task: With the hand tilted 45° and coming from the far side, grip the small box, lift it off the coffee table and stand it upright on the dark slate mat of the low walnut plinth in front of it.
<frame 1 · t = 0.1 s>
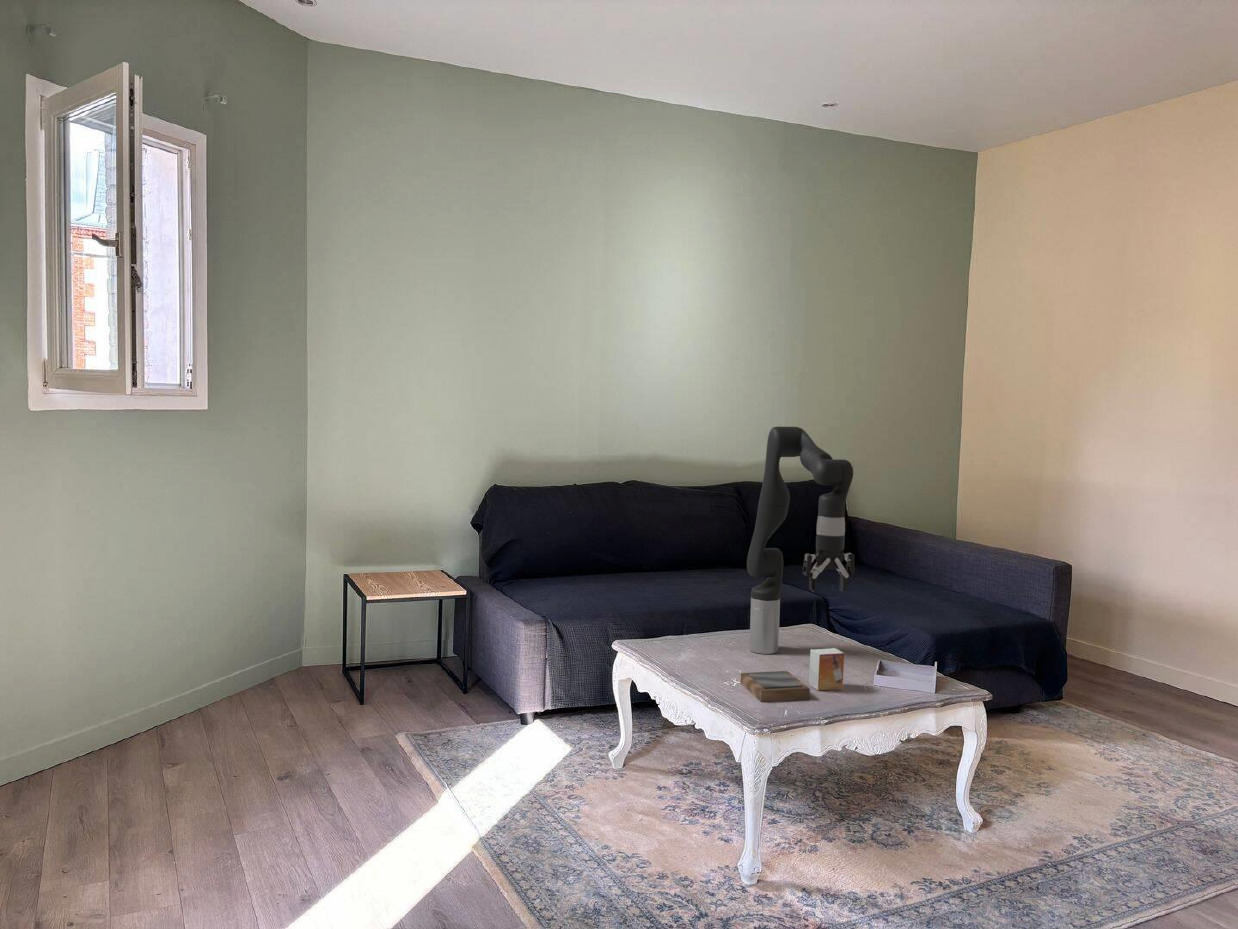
hand: (827, 591, 257), 29 cm above the table, tool pointing down, fingers open, 8 cm apart
small box: (825, 687, 267), on the table
plinth: (774, 691, 263), on the table
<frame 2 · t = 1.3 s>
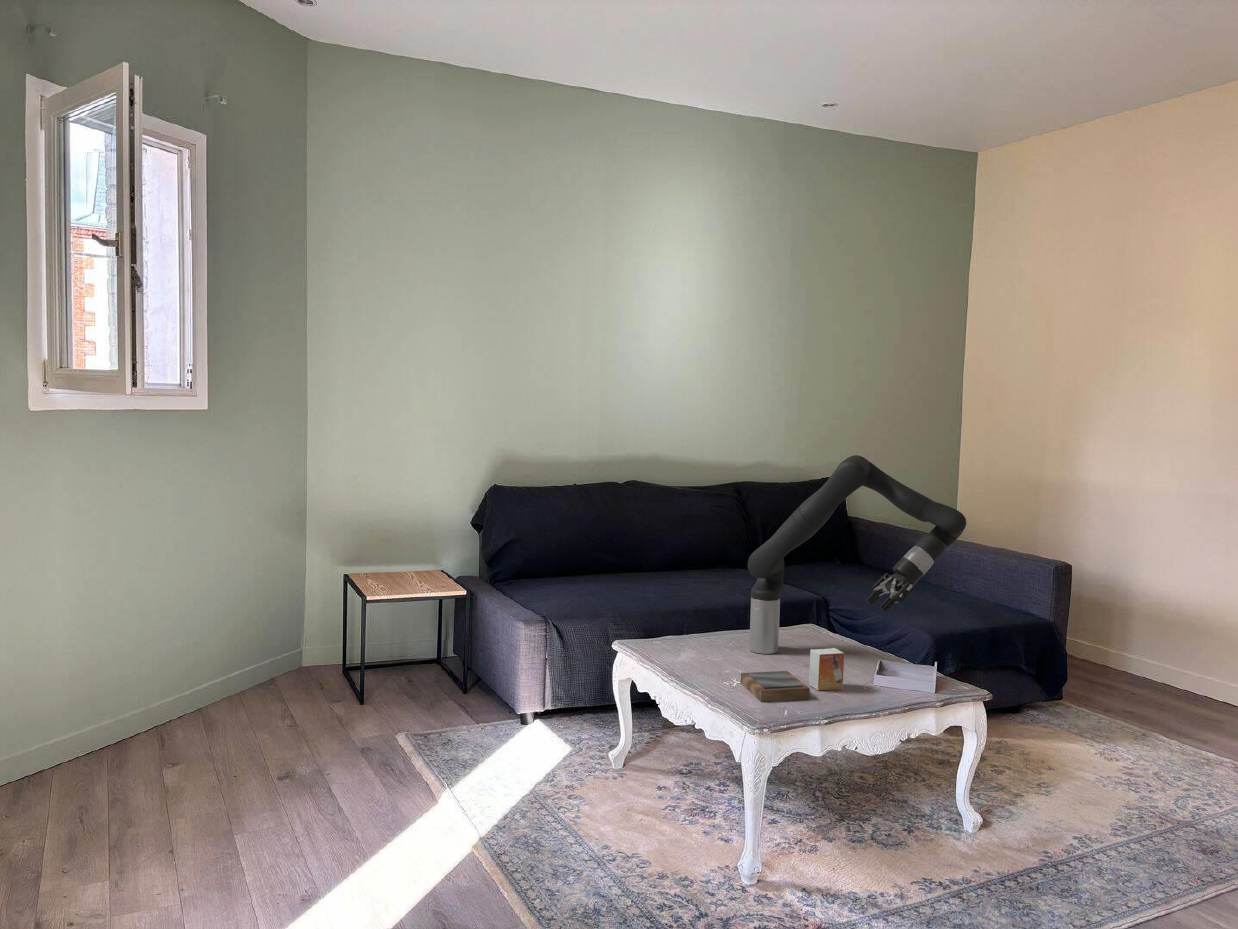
hand: (875, 606, 268), 23 cm above the table, tool tilted 45°, fingers open, 8 cm apart
nothing on the table moved.
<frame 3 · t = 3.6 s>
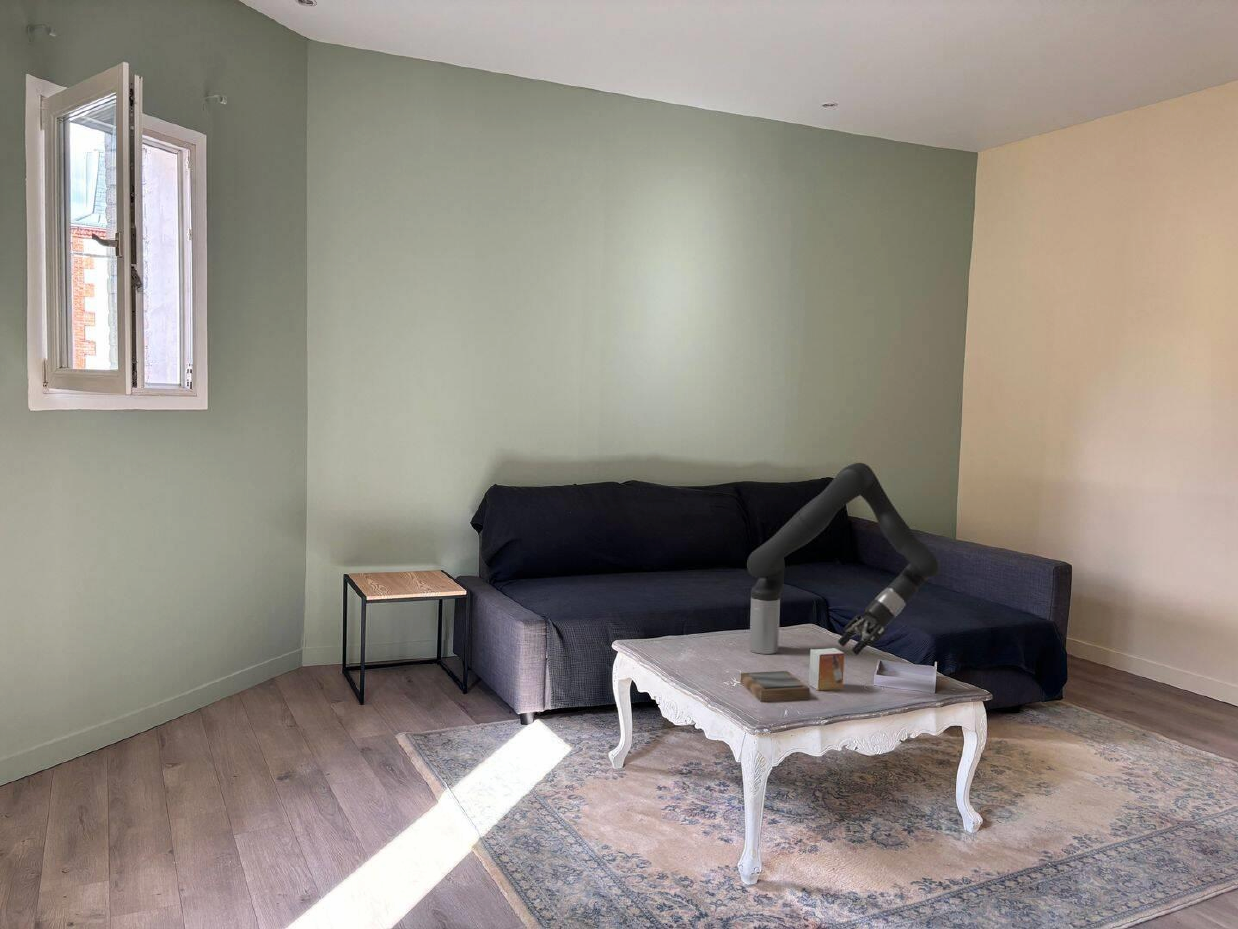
hand: (847, 648, 268), 11 cm above the table, tool tilted 45°, fingers open, 8 cm apart
nothing on the table moved.
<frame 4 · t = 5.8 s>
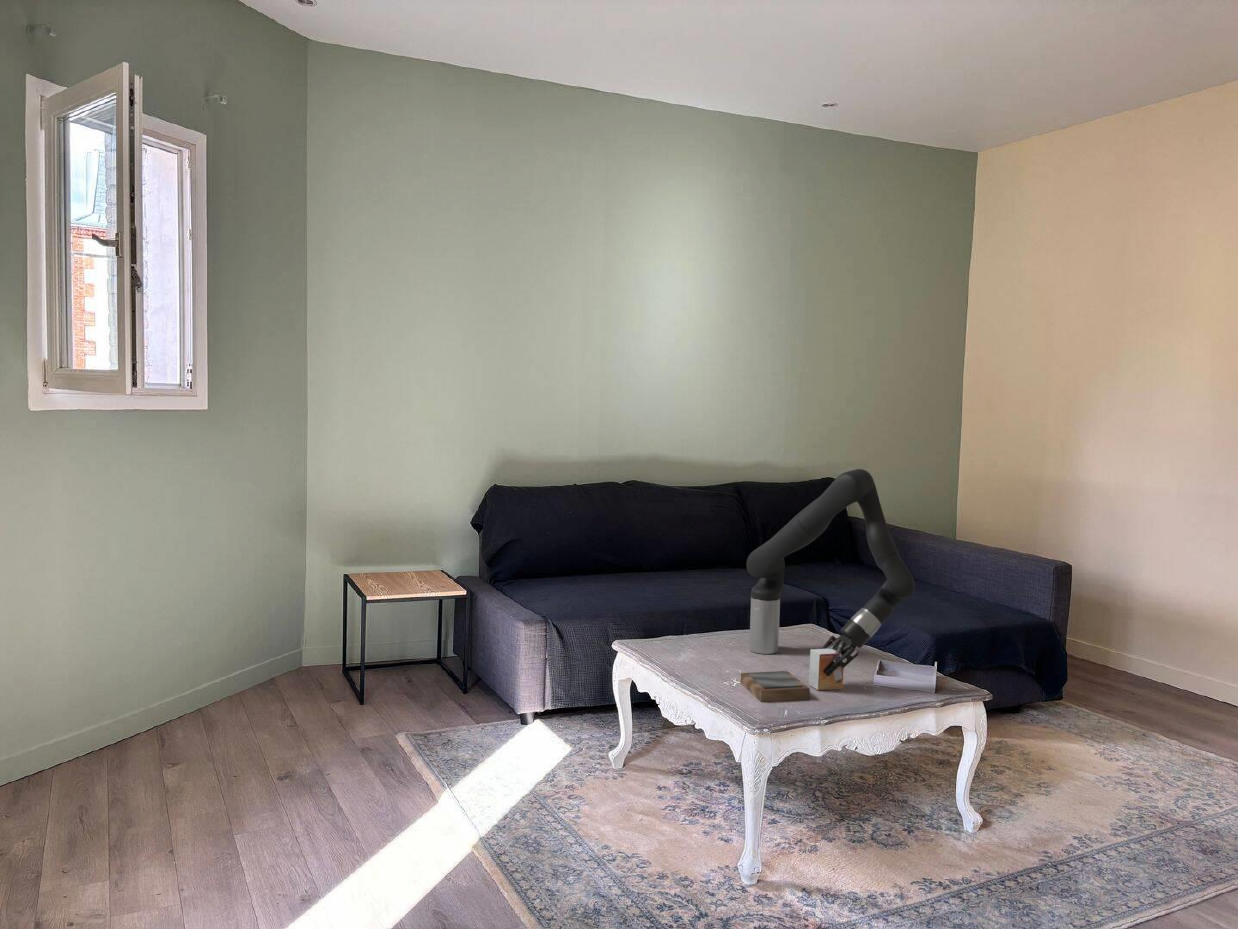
hand: (820, 670, 266), 5 cm above the table, tool tilted 45°, fingers closed on small box, 5 cm apart
small box: (825, 687, 267), on the table, touching gripper
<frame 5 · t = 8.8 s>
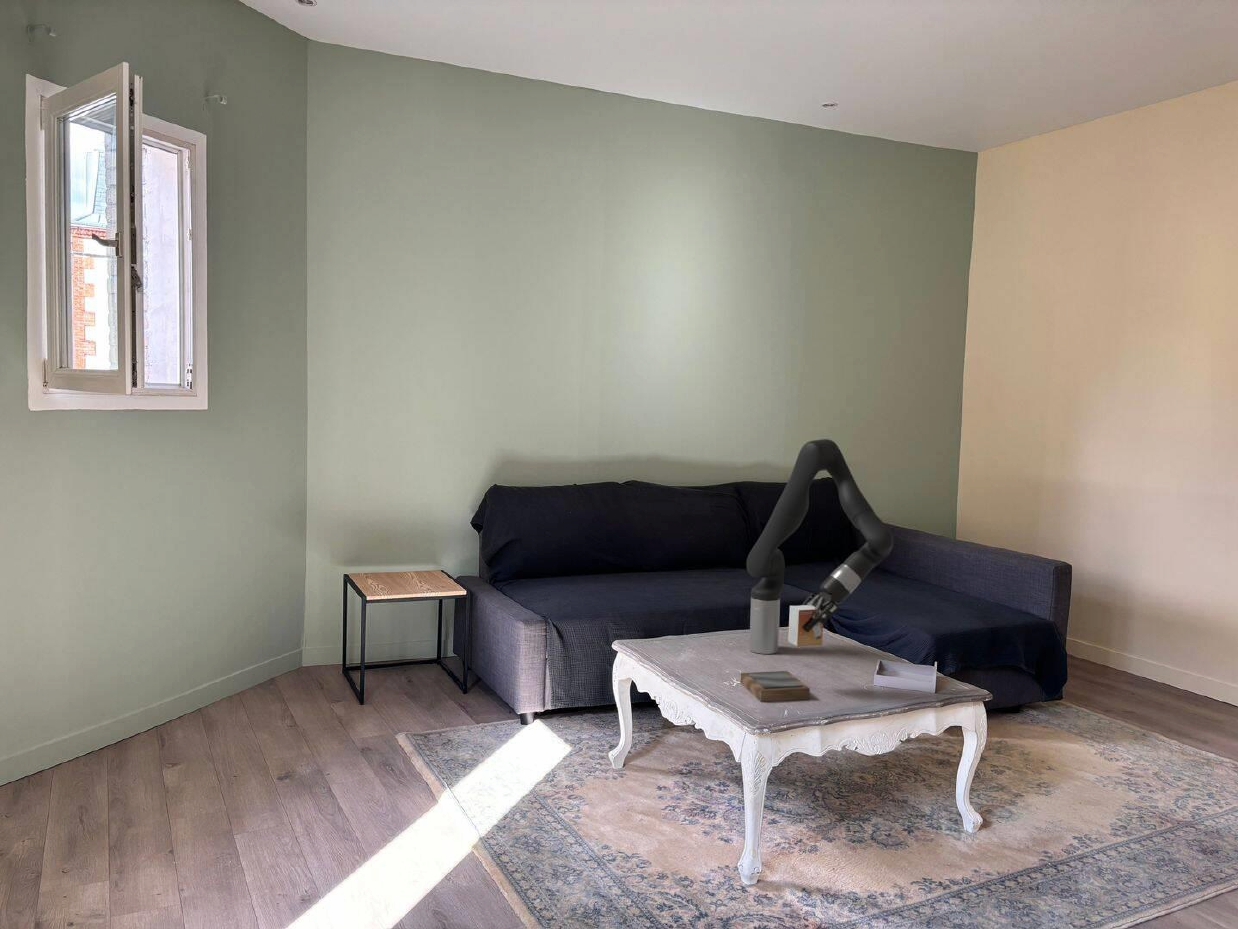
hand: (800, 626, 264), 18 cm above the table, tool tilted 45°, fingers closed on small box, 5 cm apart
small box: (805, 644, 265), point 13 cm above the table, touching gripper
when the fingers open (9 cm above the table, at t = 12.0 s): small box drops 1 cm, resting on plinth.
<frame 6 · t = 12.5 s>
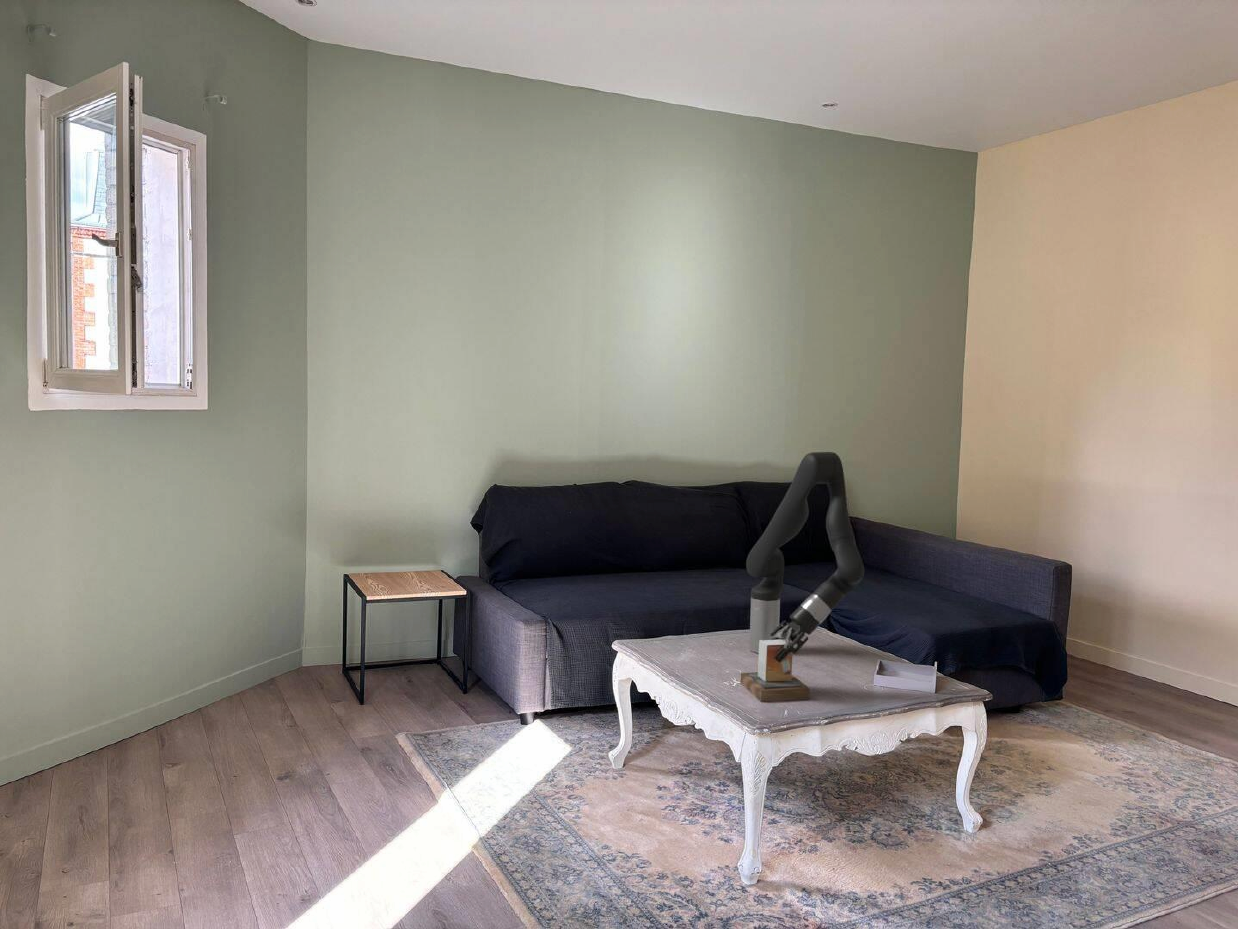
hand: (770, 655, 262), 10 cm above the table, tool tilted 45°, fingers open, 8 cm apart
small box: (774, 679, 263), point 3 cm above the table, touching plinth
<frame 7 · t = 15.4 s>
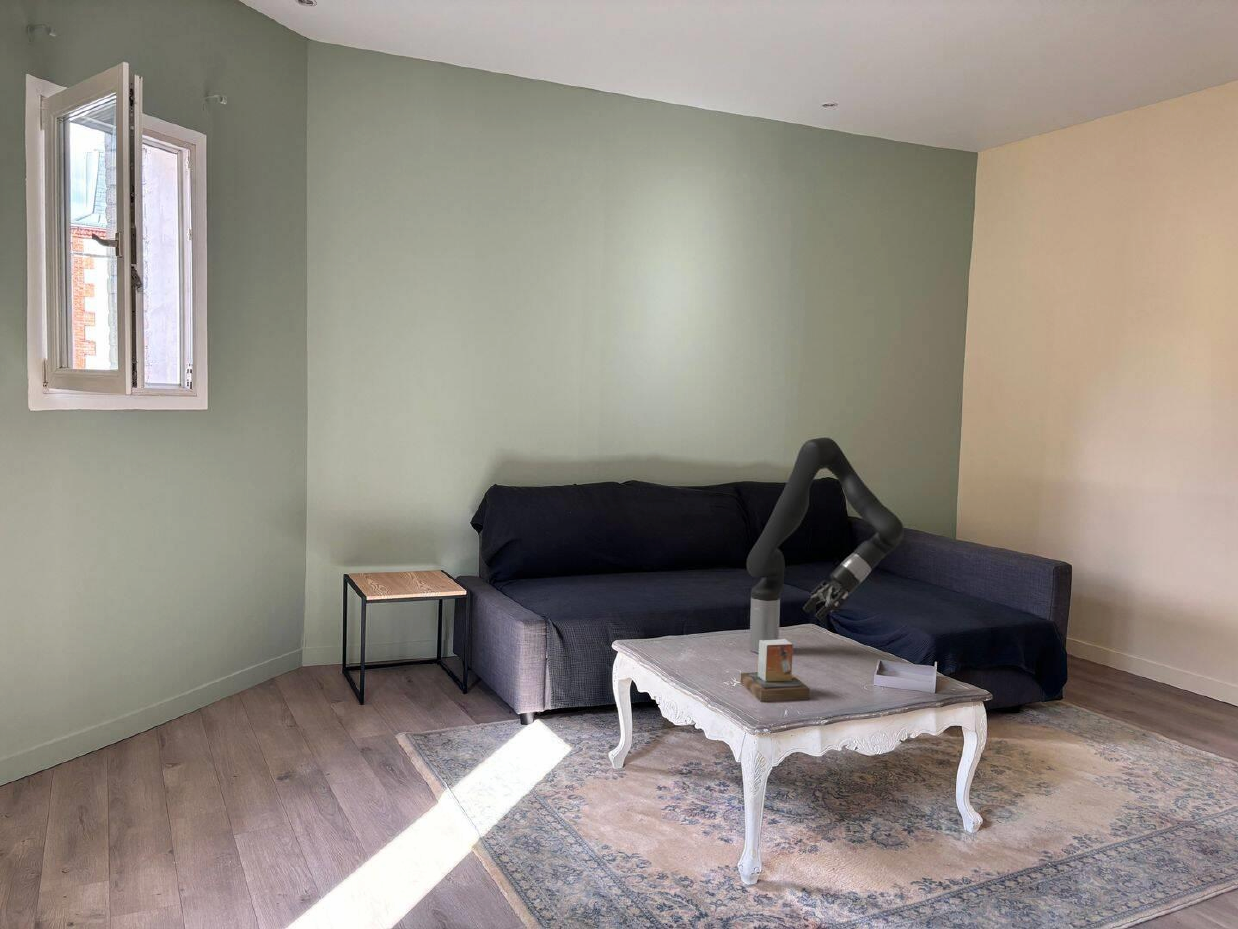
hand: (811, 614, 263), 21 cm above the table, tool tilted 45°, fingers open, 8 cm apart
nothing on the table moved.
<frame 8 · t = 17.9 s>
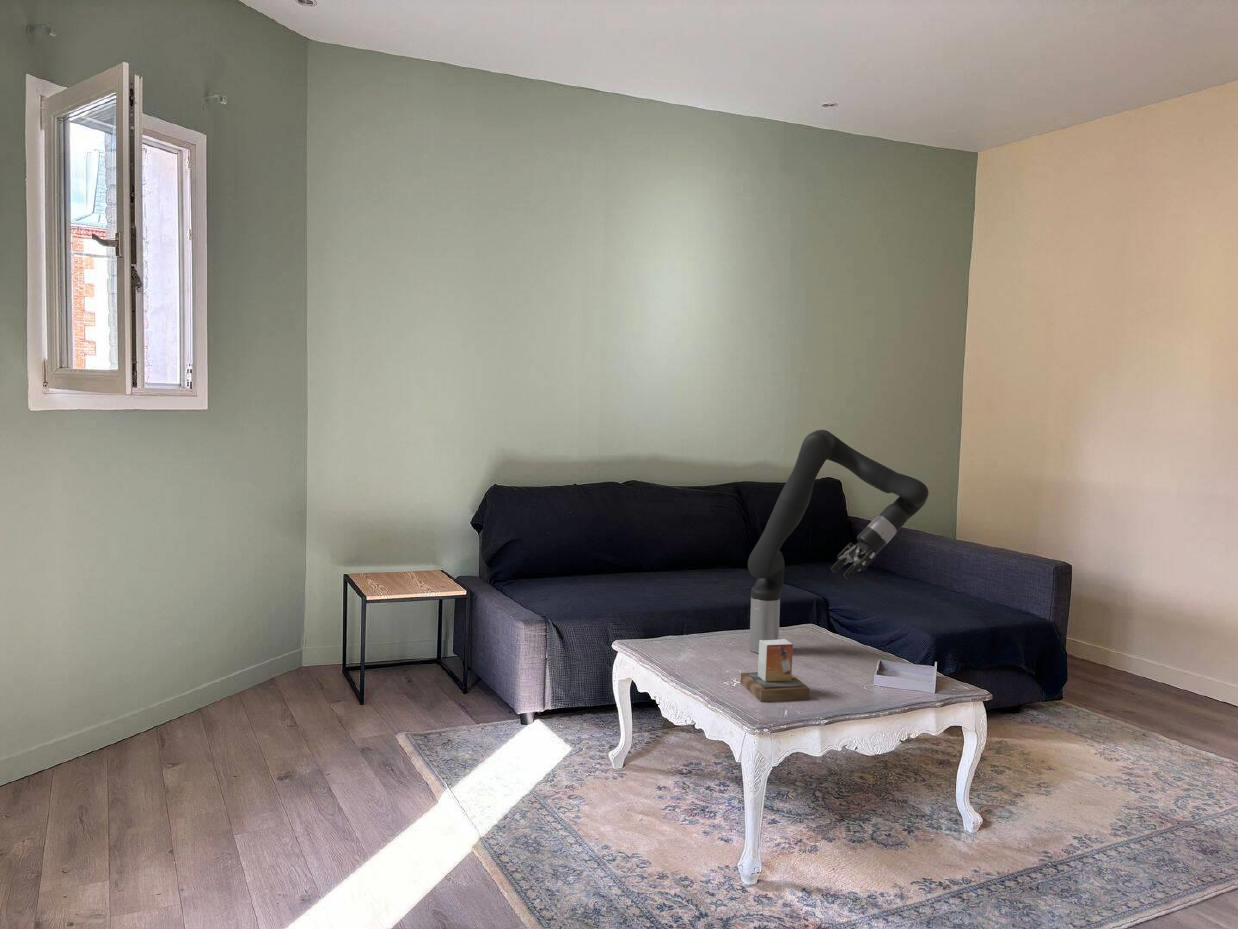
hand: (839, 574, 274), 31 cm above the table, tool tilted 45°, fingers open, 8 cm apart
nothing on the table moved.
at the end: small box inside the target area on the plinth (0.4 cm from its centre), point 3.2 cm above the plinth's base; small box tilted 0°; the gripper is holding nothing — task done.
